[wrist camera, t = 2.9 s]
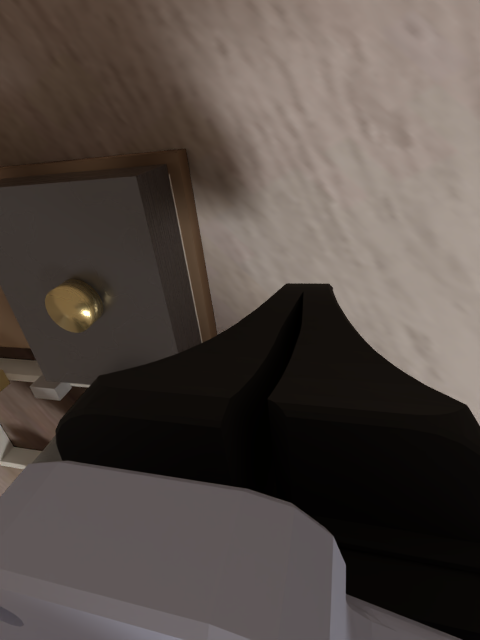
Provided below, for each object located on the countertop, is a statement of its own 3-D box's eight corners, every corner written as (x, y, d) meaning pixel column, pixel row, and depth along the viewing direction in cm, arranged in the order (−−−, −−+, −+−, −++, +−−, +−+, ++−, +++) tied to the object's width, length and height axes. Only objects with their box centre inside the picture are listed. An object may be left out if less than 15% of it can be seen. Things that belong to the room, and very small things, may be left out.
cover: (166, 163, 13) (122, 181, 10) (205, 361, 17) (180, 408, 14) (4, 178, 15) (-67, 196, 12) (75, 352, 19) (33, 392, 16)
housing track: (185, 148, 14) (175, 152, 13) (219, 350, 18) (213, 362, 17) (-115, 178, 18) (-138, 182, 17) (-26, 336, 22) (-41, 345, 21)
